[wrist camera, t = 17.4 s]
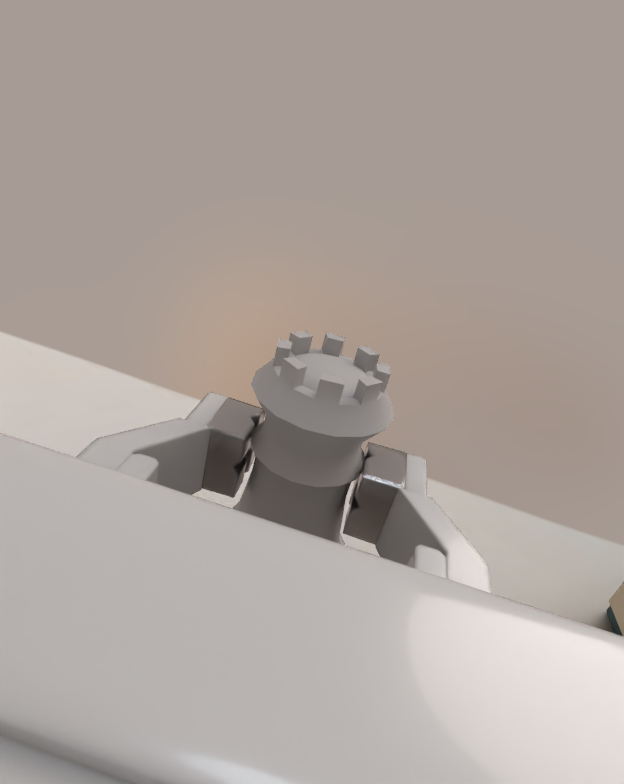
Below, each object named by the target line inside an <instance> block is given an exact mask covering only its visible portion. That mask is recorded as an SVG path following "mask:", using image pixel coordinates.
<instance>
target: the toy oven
mask: <svg viewBox="0 0 624 784" xmlns="http://www.w3.org/2000/svg"><path fill="white" fill-rule="evenodd" d="M609 603H610V607H609V608H608V609H607V614H608V617H609V619H610V622H611V624H612V627H613V630H614V632H615V634H617V635H620V636H623V637H624V582H623V583H622V585H621V586H620V587H619V589H618V590H617V591H616V592H615V594H614V595H613V596H612V597H611V599H610V600H609Z"/></svg>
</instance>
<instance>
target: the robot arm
mask: <svg viewBox="0 0 624 784" xmlns="http://www.w3.org/2000/svg"><path fill="white" fill-rule="evenodd" d="M264 416H265V412H264V410H263V409H262V408H259V407H256V406H253V405H250V404H247V403H244V402H241V401H238V400H235V399H232V398H229V397H227V396H223V395H220V394H217V393H213V392H210V393H208V394H207V395H206V396H205V397H204V398H203V400H202V401H201V402H200V403H199V404H198V405H197V406H196V408H195V409H194V410H193V411H192V412H191V413H190V414H189V415H188V417H187V418H186V419H181V418H178V419H174V420H170V421H166V422H161V423H157V424H153V425H149V426H145V427H141V428H137V429H133V430H129V431H125V432H121V433H117V434H113V435H109V436H104V437H100V438H97V439H96V440H95V441H93V442H92V443H91V444H90V445H89V446H88V447H87V448H86V449H84V450H83V451H82V452H81V453H80V454H79V455H78V456H77V457H73V456H70V455H67V454H64V453H61V452H58V451H55V450H52V449H49V448H45V447H42V446H39V445H36V444H33V443H30V442H27V441H24V440H21V439H18V438H15V437H12V436H9V435H6V434H3V433H0V784H624V637H623V636H620V635H617V634H614V633H611V632H608V631H605V630H602V629H599V628H596V627H593V626H590V625H587V624H583V623H580V622H577V621H574V620H571V619H568V618H565V617H562V616H559V615H556V614H553V613H550V612H547V611H544V610H541V609H538V608H535V607H532V606H529V605H525V604H522V603H519V602H516V601H513V600H510V599H507V598H504V597H501V596H498V595H495V594H492V591H491V584H490V577H489V570H488V565H487V564H486V562H485V561H484V560H483V559H482V558H481V556H480V555H479V554H478V553H477V551H476V550H475V549H474V548H473V547H472V545H471V544H470V543H469V542H468V541H467V539H466V538H465V537H464V536H463V534H462V533H461V532H460V531H459V530H458V528H457V527H456V526H455V525H454V524H453V522H452V521H451V520H450V519H449V517H448V516H447V515H446V514H445V513H444V511H443V510H442V509H441V508H440V507H439V505H438V504H437V503H436V502H435V500H434V499H433V498H431V497H428V496H427V460H426V458H424V457H420V456H416V455H413V454H409V453H405V452H402V451H398V450H395V449H391V448H388V447H384V446H381V445H377V444H373V443H370V442H369V443H368V445H367V447H366V450H365V453H364V454H365V458H364V459H365V464H364V466H363V469H362V473H361V474H360V475H359V477H358V478H357V479H356V480H355V483H354V486H353V489H352V493H351V497H350V501H349V504H350V506H349V509H348V512H347V515H346V520H345V525H344V530H343V533H344V534H347V535H349V536H352V537H355V538H358V539H361V540H364V541H366V542H369V543H372V544H375V545H376V546H375V547H376V549H377V551H378V553H379V555H380V557H379V556H376V555H373V554H370V553H367V552H363V551H360V550H357V549H354V548H351V547H348V546H345V545H342V544H339V543H336V542H333V541H330V540H327V539H324V538H321V537H318V536H315V535H311V534H308V533H305V532H302V531H299V530H296V529H293V528H290V527H287V526H284V525H281V524H278V523H275V522H272V521H269V520H266V519H263V518H259V517H256V516H253V515H250V514H247V513H244V512H241V511H238V510H235V509H232V508H229V507H226V506H223V505H220V504H217V503H214V502H211V501H208V500H204V499H201V498H198V497H195V496H192V494H194V493H196V492H198V491H200V490H201V488H203V489H206V490H210V491H213V492H216V493H220V494H223V495H227V496H230V497H233V498H234V496H235V494H236V493H237V491H238V489H239V487H240V485H241V484H242V482H243V477H244V473H245V472H248V471H249V469H250V467H251V465H252V462H253V460H254V457H255V454H254V451H253V448H252V445H251V442H250V439H251V437H252V434H253V430H254V428H255V427H256V426H258V425H259V424H260V423H262V422H263V421H264Z"/></svg>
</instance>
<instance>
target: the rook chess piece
mask: <svg viewBox="0 0 624 784" xmlns="http://www.w3.org/2000/svg"><path fill="white" fill-rule="evenodd" d="M312 337H313V336H312V335H311V334H310V333H308V332H307V331H302V332H293V333H291V334H290V338H289V341H287V340H284V339H281V338H280V340H279V343H278V346H277V350H276V354H275V358H274V359H272V360H271V361H270V362H268V363H267V364H266V365H264V366H263V367H262V368H260V369H259V370H258V371H256V374H255V376H254V378H253V381H252V387H253V389H254V392H255V394H256V396H257V399H258V401H259V403H260V405H261V406H262V408H263V410H264V412H265V414H266V417H265V420H264V421H263V422H262V423H260V424H259V425H258V426H256V427H255V428H254V430H253V434H252V437H251V439H250V442H251V445H252V448H253V451H254V454H255V456H256V457H255V461H254V466H253V470H252V472H251V474H250V477H249V479H248V482H247V484H246V487H245V489H244V492H243V494H242V497H241V499H240V501H239V503H238V504H237V505H235V506H234V507H233V508H232V509H235V510H238V511H241V512H244V513H247V514H250V515H253V516H256V517H259V518H263V519H266V520H269V521H272V522H275V523H278V524H281V525H284V526H287V527H290V528H293V529H296V530H299V531H302V532H305V533H308V534H311V535H315V536H318V537H321V538H324V539H327V540H330V541H333V542H336V543H339V544H342V545H345V543H344V541H343V539H342V536H341V534H340V529H341V523H342V517H343V511H344V505H345V499H346V495H347V492H348V489H349V486H350V483H351V482H352V481H354V480H356V479H357V478H358V477H359V475H360V474H361V473H362V469H363V466H364V464H365V459H364V458H365V454H364V452H363V450H362V448H361V445H362V443H363V442H364V441H366V440H367V439H369V438H371V437H373V436H375V435H376V434H378V433H380V432H382V431H384V430H385V429H386V427H387V426H388V425H389V423H390V422H391V421H392V420H393V418H394V416H393V409H392V404H391V401H390V399H389V396H388V394H387V392H386V386H387V383H388V380H389V377H390V369H389V365H386V364H380V363H377V361H378V358H379V354H378V353H376V352H375V351H373V350H372V349H370V348H368V347H367V346H365V345H364V346H361V347H359V348H358V350H357V353H356V357H355V360H353V359H350V358H348V357H346V356H343V355H341V353H342V350H343V346H344V342H345V339H346V338H345V337H342V336H338V335H334V334H330V333H326V334H325V338H324V342H323V346H322V350H318V349H310V345H311V341H312Z"/></svg>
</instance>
